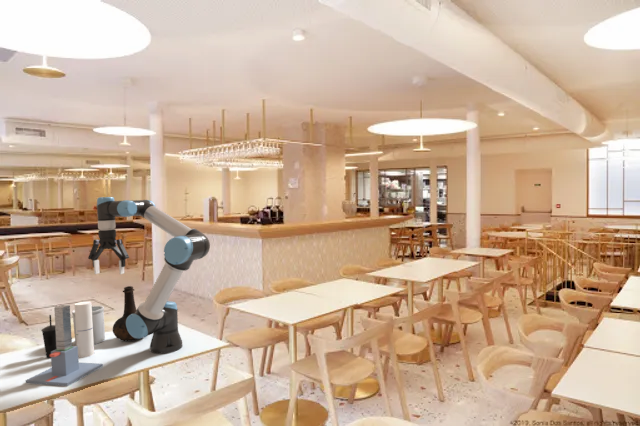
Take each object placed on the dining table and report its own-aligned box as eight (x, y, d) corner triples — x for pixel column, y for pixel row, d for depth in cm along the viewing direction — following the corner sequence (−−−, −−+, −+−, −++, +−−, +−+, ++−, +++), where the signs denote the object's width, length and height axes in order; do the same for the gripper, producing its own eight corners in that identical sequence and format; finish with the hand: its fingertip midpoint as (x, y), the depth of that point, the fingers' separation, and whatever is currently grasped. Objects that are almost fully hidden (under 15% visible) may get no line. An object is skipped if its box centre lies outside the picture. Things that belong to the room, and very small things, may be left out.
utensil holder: (72, 348, 216) (70, 314, 215) (75, 340, 230) (73, 307, 229) (104, 343, 222) (102, 310, 221) (106, 335, 236) (104, 304, 235)
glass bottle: (157, 334, 235) (154, 283, 234) (135, 345, 218) (133, 290, 217) (128, 332, 239) (126, 283, 238) (105, 343, 222) (102, 290, 221)
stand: (102, 366, 191) (101, 341, 191) (67, 386, 171) (66, 358, 171) (64, 364, 195) (62, 340, 195) (25, 383, 176) (24, 356, 175)
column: (73, 355, 185) (70, 305, 184) (65, 359, 180) (62, 307, 180) (64, 355, 186) (61, 305, 185) (56, 359, 181) (53, 307, 181)
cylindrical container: (86, 357, 202) (83, 305, 202) (73, 357, 204) (70, 304, 203) (97, 352, 209) (94, 301, 208) (84, 351, 211) (82, 301, 210)
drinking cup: (65, 354, 208) (63, 313, 207) (49, 360, 201) (47, 317, 200) (55, 352, 211) (52, 312, 210) (39, 358, 204) (36, 316, 203)
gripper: (135, 228, 206) (137, 272, 206) (90, 229, 211) (92, 272, 212) (125, 229, 198) (127, 275, 199) (78, 230, 203) (81, 275, 204)
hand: (109, 273), depth 205 cm, fingers open, 13 cm apart
